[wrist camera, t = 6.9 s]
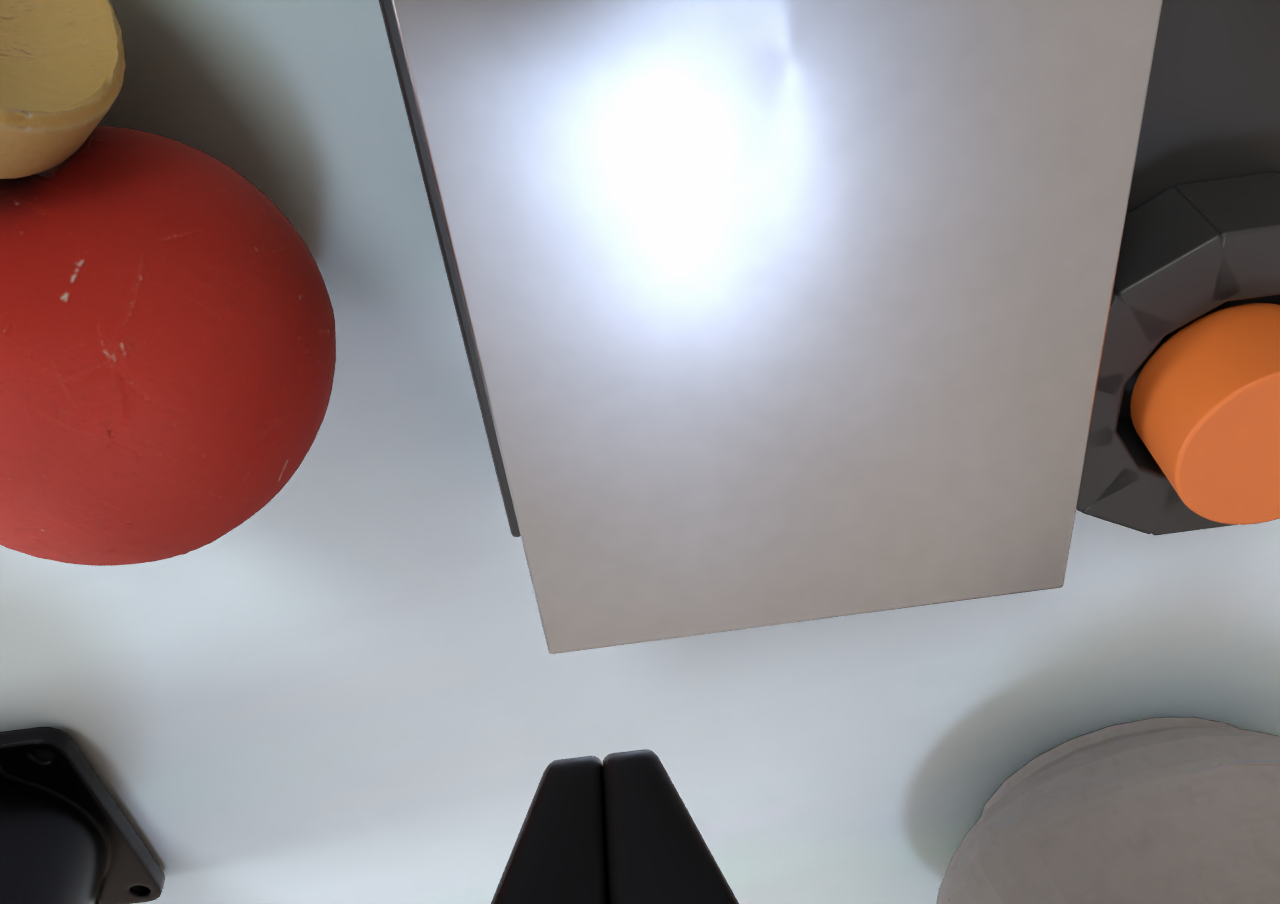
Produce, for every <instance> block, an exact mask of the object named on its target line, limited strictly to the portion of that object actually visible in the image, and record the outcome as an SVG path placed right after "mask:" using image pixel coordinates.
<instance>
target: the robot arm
mask: <svg viewBox="0 0 1280 904" xmlns="http://www.w3.org/2000/svg"><path fill="white" fill-rule="evenodd" d="M164 881H165V875H164V873H163V871H162V870H161V868H160V867H159V866H158V864H157V863H156V861H155V860H154V858H153V857H152V855H151V854H150V852H149V851H148V849H147V848H146V846H145V845H144V843H143V842H142V841H141V839H140V838H139V836H138V835H137V833H136V832H135V830H134V829H133V827H132V826H131V824H130V823H129V821H128V820H127V819H126V817H125V816H124V814H123V813H122V811H121V810H120V808H119V807H118V805H117V804H116V802H115V801H114V799H113V798H112V797H111V795H110V794H109V792H108V791H107V789H106V788H105V786H104V785H103V783H102V782H101V780H100V779H99V777H98V776H97V774H96V773H95V772H94V770H93V769H92V767H91V766H90V764H89V763H88V761H87V760H86V758H85V757H84V755H83V754H82V752H81V751H80V750H79V748H78V747H77V745H76V744H75V742H74V741H73V739H72V738H71V737H70V736H69V735H68V734H67V733H65V732H63V731H61V730H59V729H55V728H51V727H37V728H29V729H21V730H14V731H6V732H0V904H132V903H140V902H148V901H152V900H155V899H157V898H158V897H160V894H161V892H162V888H163V885H164ZM491 904H739V903H738V901H737V899H736V898H735V896H734V894H733V892H732V890H731V888H730V887H729V885H728V883H727V881H726V879H725V878H724V876H723V874H722V872H721V870H720V868H719V867H718V865H717V863H716V861H715V859H714V858H713V856H712V854H711V852H710V850H709V848H708V847H707V845H706V843H705V841H704V839H703V838H702V836H701V834H700V832H699V830H698V828H697V827H696V825H695V823H694V821H693V819H692V818H691V816H690V814H689V812H688V810H687V808H686V807H685V805H684V803H683V801H682V799H681V798H680V796H679V794H678V792H677V790H676V789H675V787H674V785H673V783H672V781H671V779H670V778H669V776H668V774H667V772H666V770H665V769H664V767H663V765H662V763H661V761H660V760H659V758H658V756H657V755H656V754H655V753H654V752H653V751H651V750H637V751H629V752H620V753H612V754H609V755H607V756H606V757H605V758H604V760H603V765H602V762H601V761H600V759H599V758H597V757H595V756H587V757H578V758H570V759H561V760H555V761H553V762H552V763H550V764H549V765H548V766H547V768H546V770H545V771H544V773H543V776H542V778H541V781H540V783H539V786H538V788H537V790H536V793H535V795H534V798H533V800H532V803H531V805H530V808H529V810H528V813H527V815H526V818H525V820H524V823H523V825H522V828H521V830H520V833H519V835H518V838H517V840H516V843H515V845H514V848H513V850H512V852H511V855H510V857H509V860H508V862H507V865H506V867H505V870H504V872H503V875H502V877H501V880H500V882H499V885H498V887H497V890H496V892H495V895H494V897H493V900H492V902H491Z"/></svg>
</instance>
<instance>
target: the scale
mask: <svg viewBox="0 0 1280 904" xmlns="http://www.w3.org/2000/svg"><path fill="white" fill-rule="evenodd" d="M379 3H380V7H381V11H382V15H383V19H384V23H385V27H386V31H387V35H388V39H389V43H390V47H391V51H392V55H393V59H394V63H395V67H396V71H397V76H398V80H399V84H400V88H401V92H402V96H403V100H404V104H405V108H406V112H407V116H408V120H409V124H410V128H411V132H412V136H413V140H414V144H415V148H416V152H417V156H418V160H419V164H420V168H421V172H422V176H423V180H424V184H425V188H426V192H427V196H428V200H429V204H430V208H431V212H432V216H433V220H434V224H435V228H436V232H437V236H438V240H439V244H440V249H441V253H442V257H443V261H444V265H445V269H446V273H447V277H448V281H449V285H450V289H451V293H452V297H453V301H454V305H455V309H456V313H457V317H458V321H459V325H460V329H461V333H462V337H463V341H464V345H465V349H466V353H467V357H468V361H469V365H470V369H471V373H472V377H473V381H474V385H475V389H476V393H477V397H478V401H479V405H480V409H481V413H482V418H483V422H484V426H485V430H486V434H487V438H488V442H489V446H490V450H491V454H492V458H493V462H494V466H495V470H496V474H497V478H498V482H499V486H500V490H501V494H502V498H503V502H504V506H505V510H506V514H507V518H508V522H509V526H510V530H511V534H512V535H513V536H514V537H519V536H521V535H520V531H519V526H518V522H517V518H516V514H515V510H514V506H513V502H512V498H511V493H510V489H509V485H508V481H507V477H506V473H505V469H504V464H503V460H502V456H501V452H500V448H499V444H498V440H497V436H496V431H495V427H494V423H493V419H492V415H491V411H490V407H489V402H488V398H487V394H486V390H485V386H484V382H483V378H482V374H481V369H480V365H479V361H478V357H477V353H476V349H475V345H474V340H473V336H472V332H471V328H470V324H469V320H468V316H467V312H466V307H465V303H464V299H463V295H462V291H461V287H460V283H459V278H458V274H457V270H456V266H455V262H454V258H453V254H452V249H451V245H450V241H449V237H448V233H447V229H446V225H445V221H444V216H443V212H442V208H441V204H440V200H439V196H438V192H437V187H436V183H435V179H434V175H433V171H432V167H431V163H430V159H429V154H428V150H427V146H426V142H425V138H424V134H423V130H422V125H421V121H420V117H419V113H418V109H417V105H416V101H415V97H414V92H413V88H412V84H411V80H410V76H409V72H408V68H407V63H406V59H405V55H404V51H403V47H402V43H401V39H400V35H399V30H398V26H397V22H396V18H395V14H394V10H393V6H392V1H391V0H379ZM1247 303H1271V304H1277V305H1280V0H1163V1H1162V6H1161V12H1160V18H1159V24H1158V30H1157V36H1156V42H1155V48H1154V54H1153V59H1152V65H1151V71H1150V77H1149V83H1148V89H1147V95H1146V101H1145V106H1144V112H1143V118H1142V124H1141V130H1140V136H1139V142H1138V148H1137V153H1136V159H1135V165H1134V171H1133V177H1132V183H1131V189H1130V195H1129V200H1128V206H1127V212H1126V218H1125V224H1124V230H1123V236H1122V242H1121V247H1120V253H1119V259H1118V265H1117V271H1116V277H1115V283H1114V289H1113V295H1112V300H1111V306H1110V312H1109V318H1108V324H1107V330H1106V336H1105V342H1104V347H1103V353H1102V359H1101V365H1100V371H1099V377H1098V383H1097V389H1096V394H1095V400H1094V406H1093V412H1092V418H1091V424H1090V430H1089V436H1088V441H1087V447H1086V453H1085V459H1084V465H1083V471H1082V477H1081V483H1080V488H1079V494H1078V500H1077V506H1076V510H1078V511H1081V512H1082V513H1084V514H1087V515H1091V516H1094V517H1097V518H1100V519H1103V520H1106V521H1109V522H1113V523H1116V524H1119V525H1122V526H1125V527H1128V528H1131V529H1134V530H1138V531H1141V532H1144V533H1147V534H1151V533H1152V534H1153V535H1161V534H1169V533H1177V532H1184V531H1192V530H1200V529H1207V528H1215V527H1222V526H1230V525H1238V524H1225V523H1219V522H1215V521H1211V520H1209V519H1206V518H1204V517H1202V516H1200V515H1198V514H1196V513H1195V512H1193V511H1192V510H1190V509H1189V508H1188V507H1187V506H1186V505H1185V504H1184V503H1183V501H1182V500H1181V498H1180V497H1179V496H1178V494H1177V493H1176V491H1175V490H1174V488H1173V486H1172V485H1171V483H1170V482H1169V480H1168V479H1167V477H1166V476H1165V474H1164V473H1163V471H1162V470H1161V468H1160V467H1159V465H1158V464H1157V462H1156V461H1155V459H1154V458H1153V456H1152V455H1151V453H1150V452H1149V450H1148V449H1147V447H1146V446H1145V444H1144V443H1143V441H1142V440H1141V438H1140V437H1139V435H1138V434H1137V432H1136V430H1135V428H1134V426H1133V422H1132V418H1131V408H1130V405H1131V396H1132V392H1133V388H1134V385H1135V383H1136V380H1137V378H1138V376H1139V374H1140V372H1141V370H1142V369H1143V367H1144V365H1145V364H1146V362H1147V361H1148V360H1149V358H1150V357H1151V356H1152V355H1153V353H1154V352H1155V351H1156V350H1157V349H1158V348H1159V347H1160V346H1161V345H1162V344H1163V343H1164V342H1165V341H1166V340H1168V339H1169V338H1170V337H1171V336H1172V335H1174V334H1175V333H1176V332H1178V331H1179V330H1180V329H1182V328H1183V327H1185V326H1186V325H1188V324H1190V323H1191V322H1193V321H1195V320H1197V319H1199V318H1201V317H1203V316H1205V315H1207V314H1210V313H1212V312H1215V311H1217V310H1220V309H1224V308H1227V307H1230V306H1235V305H1240V304H1247Z"/></svg>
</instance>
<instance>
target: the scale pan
mask: <svg viewBox="0 0 1280 904" xmlns="http://www.w3.org/2000/svg"><path fill="white" fill-rule="evenodd" d="M391 1H392V6H393V10H394V14H395V18H396V22H397V26H398V30H399V35H400V39H401V43H402V47H403V51H404V55H405V59H406V63H407V68H408V72H409V76H410V80H411V84H412V88H413V92H414V97H415V101H416V105H417V109H418V113H419V117H420V121H421V125H422V130H423V134H424V138H425V142H426V146H427V150H428V154H429V159H430V163H431V167H432V171H433V175H434V179H435V183H436V187H437V192H438V196H439V200H440V204H441V208H442V212H443V216H444V221H445V225H446V229H447V233H448V237H449V241H450V245H451V249H452V254H453V258H454V262H455V266H456V270H457V274H458V278H459V283H460V287H461V291H462V295H463V299H464V303H465V307H466V312H467V316H468V320H469V324H470V328H471V332H472V336H473V340H474V345H475V349H476V353H477V357H478V361H479V365H480V369H481V374H482V378H483V382H484V386H485V390H486V394H487V398H488V402H489V407H490V411H491V415H492V419H493V423H494V427H495V431H496V436H497V440H498V444H499V448H500V452H501V456H502V460H503V464H504V469H505V473H506V477H507V481H508V485H509V489H510V493H511V498H512V502H513V506H514V510H515V514H516V518H517V522H518V526H519V531H520V535H521V539H522V543H523V547H524V551H525V555H526V560H527V564H528V568H529V572H530V576H531V580H532V584H533V588H534V593H535V597H536V601H537V605H538V609H539V613H540V617H541V622H542V626H543V630H544V634H545V638H546V642H547V646H548V650H549V653H550V654H555V653H563V652H570V651H578V650H586V649H593V648H601V647H609V646H616V645H624V644H631V643H639V642H647V641H654V640H662V639H670V638H677V637H685V636H693V635H700V634H708V633H716V632H723V631H731V630H739V629H746V628H754V627H762V626H769V625H777V624H785V623H792V622H800V621H807V620H815V619H823V618H830V617H838V616H846V615H853V614H861V613H869V612H876V611H884V610H892V609H899V608H907V607H915V606H922V605H930V604H938V603H945V602H953V601H961V600H968V599H976V598H983V597H991V596H999V595H1006V594H1014V593H1022V592H1029V591H1037V590H1045V589H1052V588H1060V587H1062V586H1063V583H1064V577H1065V571H1066V565H1067V559H1068V553H1069V547H1070V541H1071V536H1072V530H1073V524H1074V518H1075V512H1076V506H1077V500H1078V494H1079V488H1080V483H1081V477H1082V471H1083V465H1084V459H1085V453H1086V447H1087V441H1088V436H1089V430H1090V424H1091V418H1092V412H1093V406H1094V400H1095V394H1096V389H1097V383H1098V377H1099V371H1100V365H1101V359H1102V353H1103V347H1104V342H1105V336H1106V330H1107V324H1108V318H1109V312H1110V306H1111V300H1112V295H1113V289H1114V283H1115V277H1116V271H1117V265H1118V259H1119V253H1120V247H1121V242H1122V236H1123V230H1124V224H1125V218H1126V212H1127V206H1128V200H1129V195H1130V189H1131V183H1132V177H1133V171H1134V165H1135V159H1136V153H1137V148H1138V142H1139V136H1140V130H1141V124H1142V118H1143V112H1144V106H1145V101H1146V95H1147V89H1148V83H1149V77H1150V71H1151V65H1152V59H1153V54H1154V48H1155V42H1156V36H1157V30H1158V24H1159V18H1160V12H1161V6H1162V1H1163V0H391Z"/></svg>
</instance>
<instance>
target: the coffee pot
mask: <svg viewBox="0 0 1280 904" xmlns="http://www.w3.org/2000/svg"><path fill="white" fill-rule="evenodd" d="M937 904H1280V737H1279V736H1275V735H1270V734H1265V733H1259V732H1254V731H1248V730H1243V729H1238V728H1236V727H1234V726H1232V725H1230V724H1227V723H1222V722H1216V721H1211V720H1205V719H1200V718H1194V717H1188V718H1152V719H1146V720H1141V721H1135V722H1130V723H1124V724H1119V725H1113V726H1110V727H1107V728H1104V729H1101V730H1098V731H1095V732H1092V733H1089V734H1086V735H1083V736H1080V737H1077V738H1074V739H1071V740H1069V741H1067V742H1065V743H1063V744H1061V745H1059V746H1057V747H1055V748H1054V749H1052V750H1050V751H1048V752H1046V753H1044V754H1042V755H1040V756H1038V757H1036V758H1034V759H1033V760H1032V761H1030V762H1029V763H1028V764H1026V765H1025V766H1024V767H1022V768H1021V769H1020V770H1018V771H1017V772H1016V773H1014V774H1013V775H1012V776H1010V777H1009V778H1008V779H1006V780H1005V782H1004V783H1003V784H1002V785H1001V786H1000V787H999V789H998V790H997V791H996V792H995V793H994V795H993V796H992V797H991V798H990V799H989V800H988V802H987V803H986V805H985V807H984V809H983V812H982V814H981V816H980V819H979V820H978V821H977V822H976V824H975V825H974V826H973V827H972V828H971V829H970V831H969V832H968V833H967V834H966V835H965V837H964V839H963V840H962V842H961V844H960V845H959V847H958V849H957V850H956V852H955V854H954V855H953V857H952V859H951V861H950V864H949V866H948V869H947V871H946V873H945V876H944V878H943V881H942V883H941V885H940V888H939V892H938V898H937Z"/></svg>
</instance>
